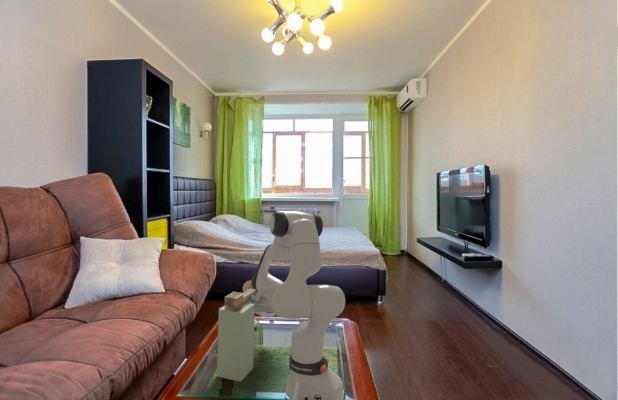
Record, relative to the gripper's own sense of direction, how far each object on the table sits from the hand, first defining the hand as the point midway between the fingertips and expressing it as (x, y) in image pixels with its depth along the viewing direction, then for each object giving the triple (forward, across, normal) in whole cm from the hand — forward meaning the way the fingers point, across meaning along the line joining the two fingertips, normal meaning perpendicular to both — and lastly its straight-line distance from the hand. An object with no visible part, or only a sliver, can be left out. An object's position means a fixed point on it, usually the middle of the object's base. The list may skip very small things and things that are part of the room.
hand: (246, 295), depth 137 cm
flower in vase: (-41, -15, +9) cm, 44 cm away
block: (+2, 0, +3) cm, 4 cm away
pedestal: (-8, 0, +28) cm, 29 cm away
